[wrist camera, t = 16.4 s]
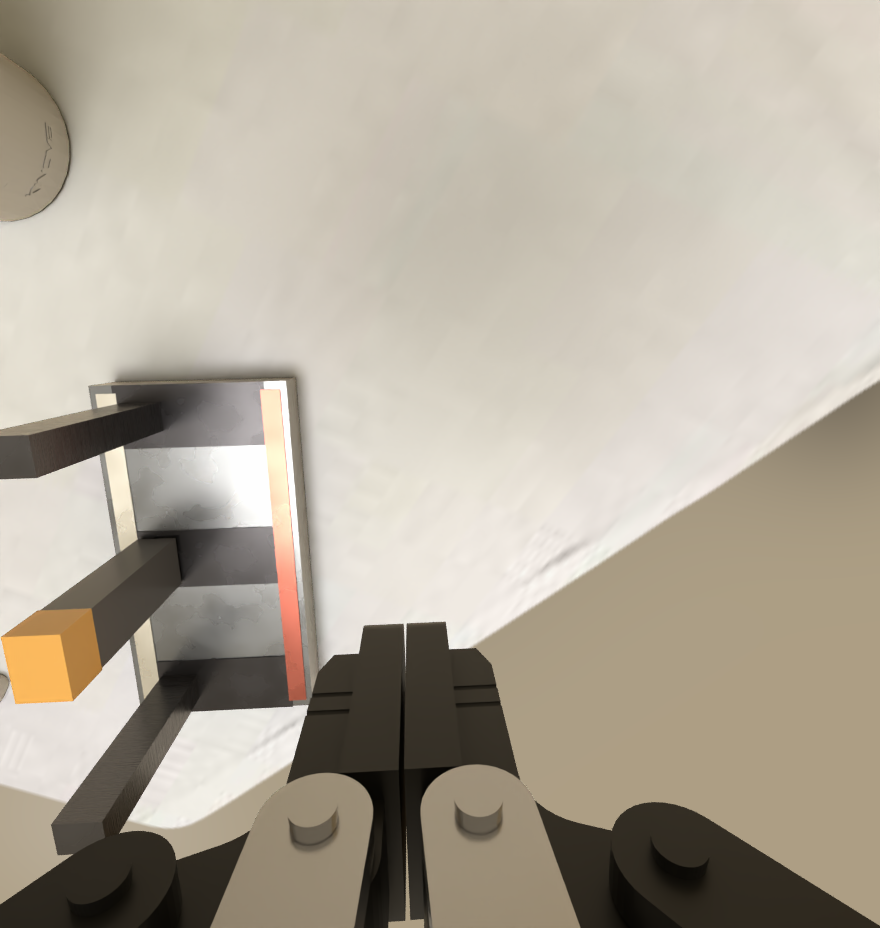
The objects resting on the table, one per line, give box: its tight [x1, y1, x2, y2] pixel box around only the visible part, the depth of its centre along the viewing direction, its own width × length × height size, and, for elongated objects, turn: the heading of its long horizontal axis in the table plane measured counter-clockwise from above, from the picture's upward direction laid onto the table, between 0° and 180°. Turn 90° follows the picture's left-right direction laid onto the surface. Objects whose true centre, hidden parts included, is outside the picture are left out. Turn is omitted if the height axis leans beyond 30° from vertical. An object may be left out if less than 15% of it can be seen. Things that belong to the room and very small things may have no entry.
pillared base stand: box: [0, 378, 319, 855], centre depth 32 cm, size 12×23×15 cm, turn 1°
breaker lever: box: [1, 538, 182, 704], centre depth 30 cm, size 2×3×12 cm
